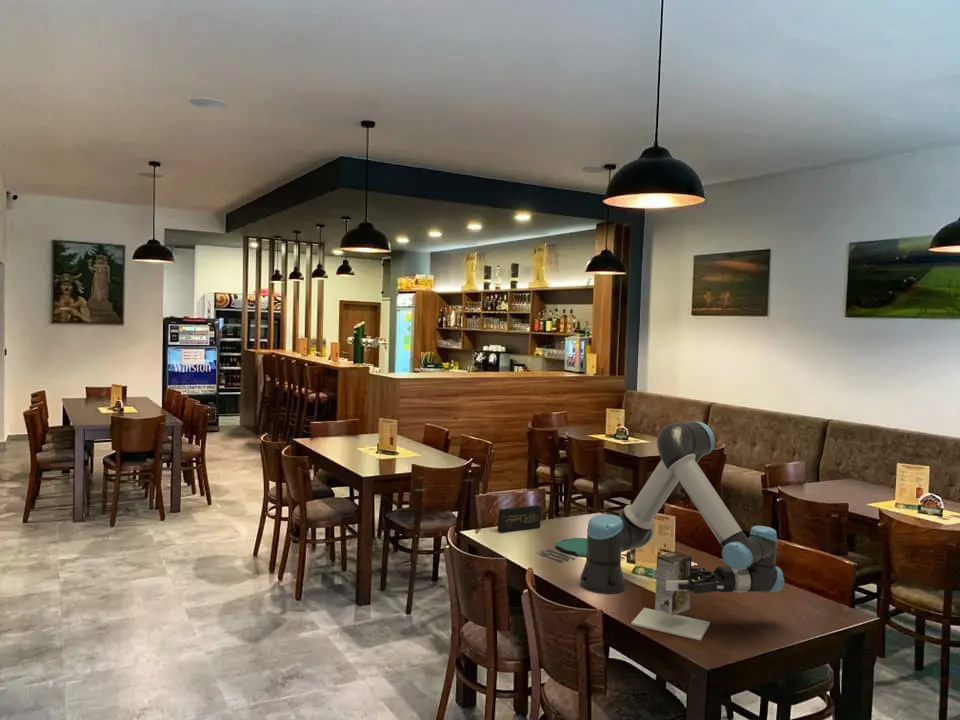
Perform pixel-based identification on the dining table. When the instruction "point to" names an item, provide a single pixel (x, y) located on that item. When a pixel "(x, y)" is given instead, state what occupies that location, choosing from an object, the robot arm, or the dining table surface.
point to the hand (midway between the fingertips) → (659, 579)
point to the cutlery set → (569, 548)
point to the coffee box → (672, 569)
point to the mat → (671, 623)
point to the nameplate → (519, 519)
